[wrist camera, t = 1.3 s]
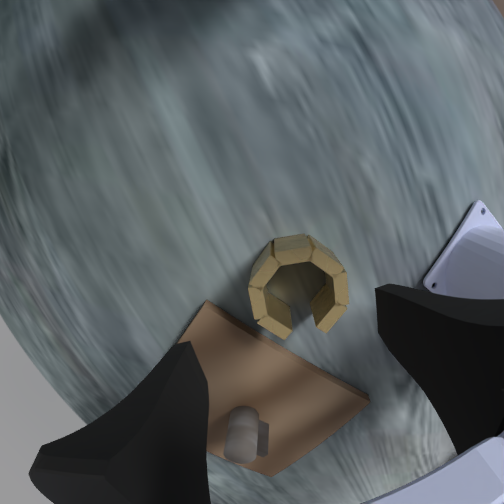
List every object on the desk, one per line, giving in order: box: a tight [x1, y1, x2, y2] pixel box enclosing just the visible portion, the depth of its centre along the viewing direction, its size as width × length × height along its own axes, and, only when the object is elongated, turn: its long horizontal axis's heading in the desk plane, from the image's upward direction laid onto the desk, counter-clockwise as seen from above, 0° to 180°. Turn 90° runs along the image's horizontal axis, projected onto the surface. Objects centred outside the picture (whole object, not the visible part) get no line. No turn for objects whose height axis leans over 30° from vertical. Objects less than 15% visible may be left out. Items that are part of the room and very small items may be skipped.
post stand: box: [176, 300, 370, 477], centre depth 21 cm, size 16×14×6 cm
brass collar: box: [248, 234, 349, 340], centre depth 19 cm, size 6×6×4 cm
